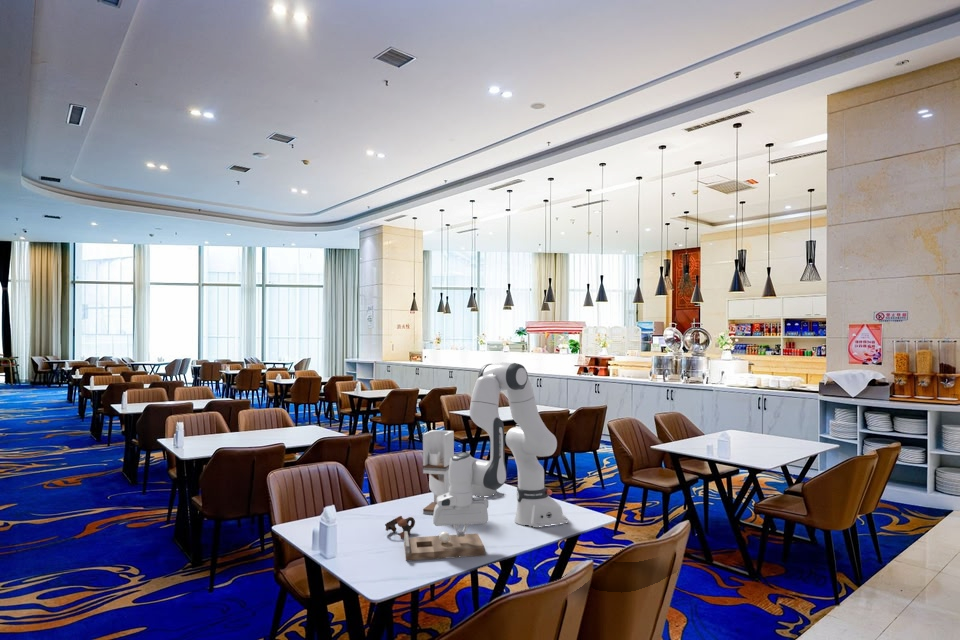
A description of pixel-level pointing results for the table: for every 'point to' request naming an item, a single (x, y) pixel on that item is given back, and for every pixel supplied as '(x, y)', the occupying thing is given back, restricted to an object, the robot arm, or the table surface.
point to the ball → (444, 537)
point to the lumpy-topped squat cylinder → (482, 491)
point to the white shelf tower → (437, 462)
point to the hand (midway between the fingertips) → (460, 536)
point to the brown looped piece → (401, 525)
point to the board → (442, 547)
